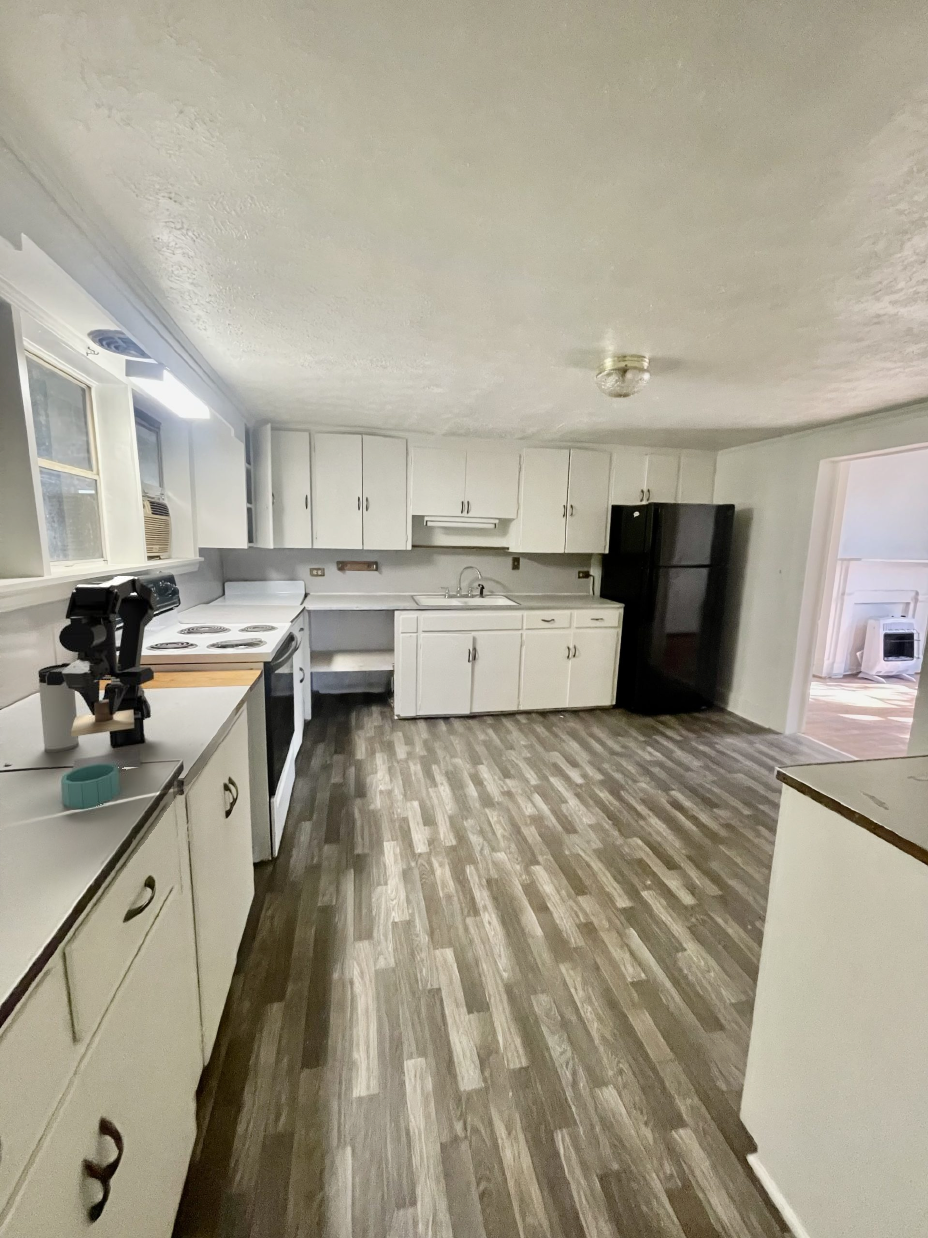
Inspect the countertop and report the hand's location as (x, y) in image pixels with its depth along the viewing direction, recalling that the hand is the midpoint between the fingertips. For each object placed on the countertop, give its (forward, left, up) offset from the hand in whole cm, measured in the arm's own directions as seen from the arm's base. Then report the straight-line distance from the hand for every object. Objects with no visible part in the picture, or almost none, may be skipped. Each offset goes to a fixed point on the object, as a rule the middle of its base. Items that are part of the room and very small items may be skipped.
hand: (104, 715), depth 105 cm
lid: (0, 0, -2) cm, 2 cm away
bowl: (+2, +16, -12) cm, 20 cm away
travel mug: (+9, -17, -12) cm, 23 cm away
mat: (0, 0, -12) cm, 12 cm away
